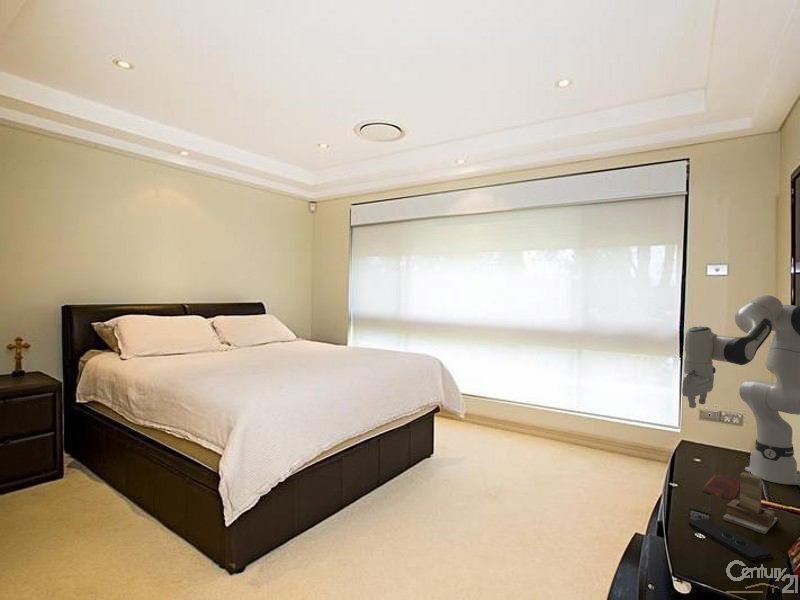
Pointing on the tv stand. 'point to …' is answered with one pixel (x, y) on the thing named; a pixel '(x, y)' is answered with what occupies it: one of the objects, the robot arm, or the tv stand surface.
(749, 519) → the wooden plank holder
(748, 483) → the oak plank
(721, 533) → the smart home device
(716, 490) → the reddish wooden board
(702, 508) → the tv stand surface
